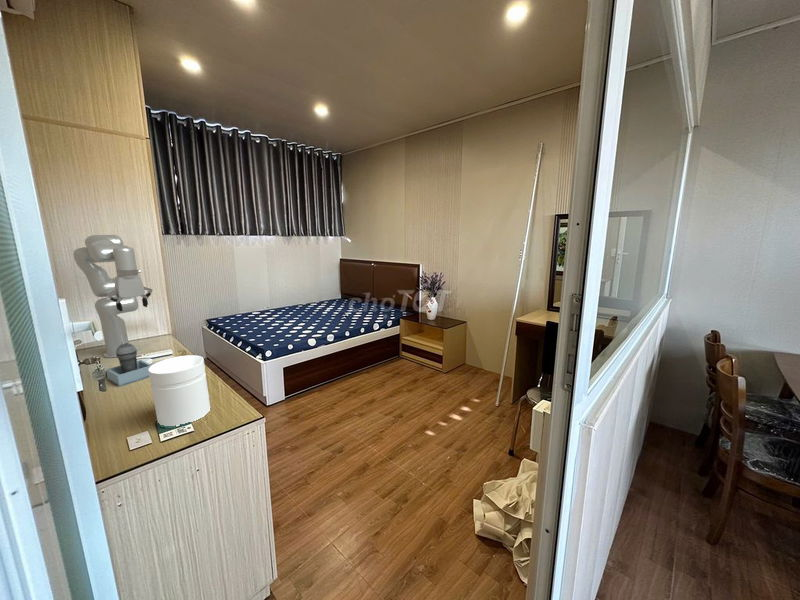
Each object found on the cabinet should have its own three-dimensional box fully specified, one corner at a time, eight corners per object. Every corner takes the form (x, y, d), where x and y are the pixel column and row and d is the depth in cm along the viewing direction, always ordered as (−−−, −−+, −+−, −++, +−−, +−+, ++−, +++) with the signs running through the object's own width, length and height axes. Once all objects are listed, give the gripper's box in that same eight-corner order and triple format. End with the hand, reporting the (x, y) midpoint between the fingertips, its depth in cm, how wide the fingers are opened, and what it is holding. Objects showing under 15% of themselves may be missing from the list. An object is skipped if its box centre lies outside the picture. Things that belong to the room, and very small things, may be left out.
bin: (108, 379, 144) (106, 369, 143) (142, 369, 155) (140, 359, 154) (119, 386, 137) (117, 376, 136) (154, 375, 148) (153, 365, 147)
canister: (153, 416, 115) (143, 364, 111) (202, 399, 126) (195, 351, 122) (163, 434, 104) (153, 378, 100) (217, 414, 116) (209, 363, 112)
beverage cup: (132, 379, 142) (124, 337, 138) (116, 379, 142) (107, 337, 138) (145, 372, 149) (137, 331, 145) (130, 372, 149) (122, 331, 145)
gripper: (146, 270, 158) (151, 304, 162) (100, 274, 144) (107, 310, 148) (152, 272, 154) (157, 306, 158) (106, 276, 140) (113, 313, 144)
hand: (133, 308), depth 153 cm, fingers open, 9 cm apart
